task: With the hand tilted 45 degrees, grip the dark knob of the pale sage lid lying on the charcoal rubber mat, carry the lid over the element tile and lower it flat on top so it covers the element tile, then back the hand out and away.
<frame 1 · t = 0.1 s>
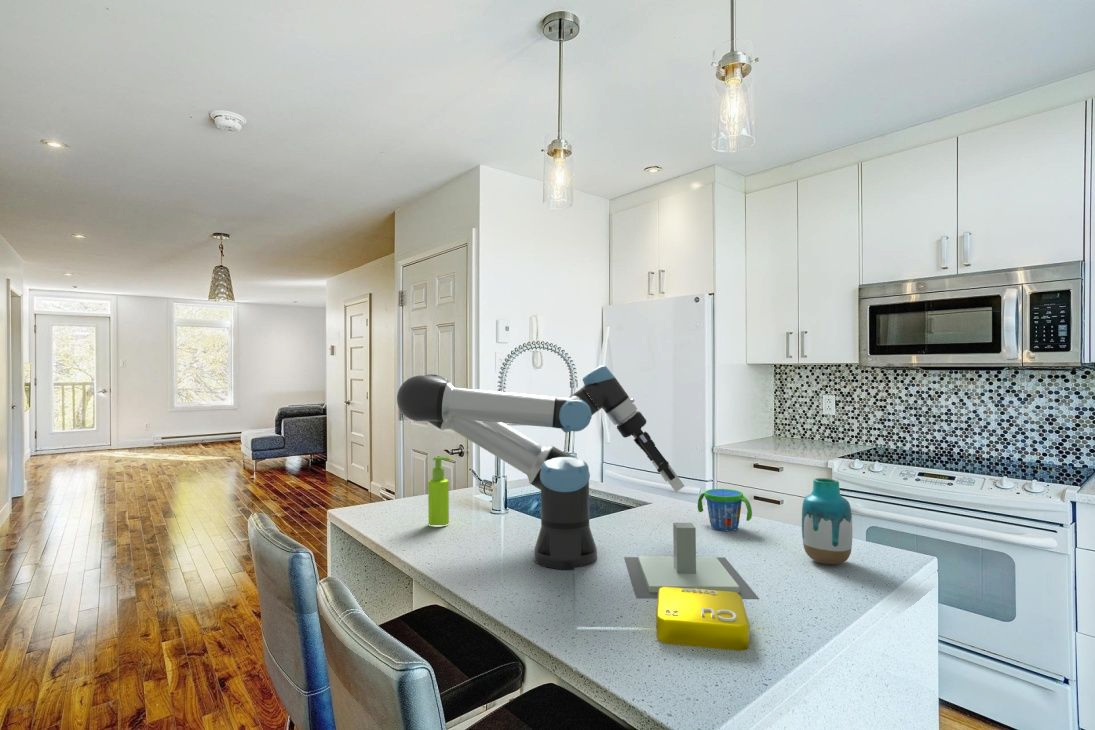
hand: (674, 483, 147), 15 cm above the worktop, tool tilted 35°, fingers open, 13 cm apart
rubber mat: (684, 577, 122), on the worktop
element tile: (700, 630, 99), on the worktop
sage lid: (684, 575, 122), resting on rubber mat
vase: (827, 563, 131), on the worktop
snack cup: (724, 528, 159), on the worktop
soap dispenser: (440, 525, 165), on the worktop
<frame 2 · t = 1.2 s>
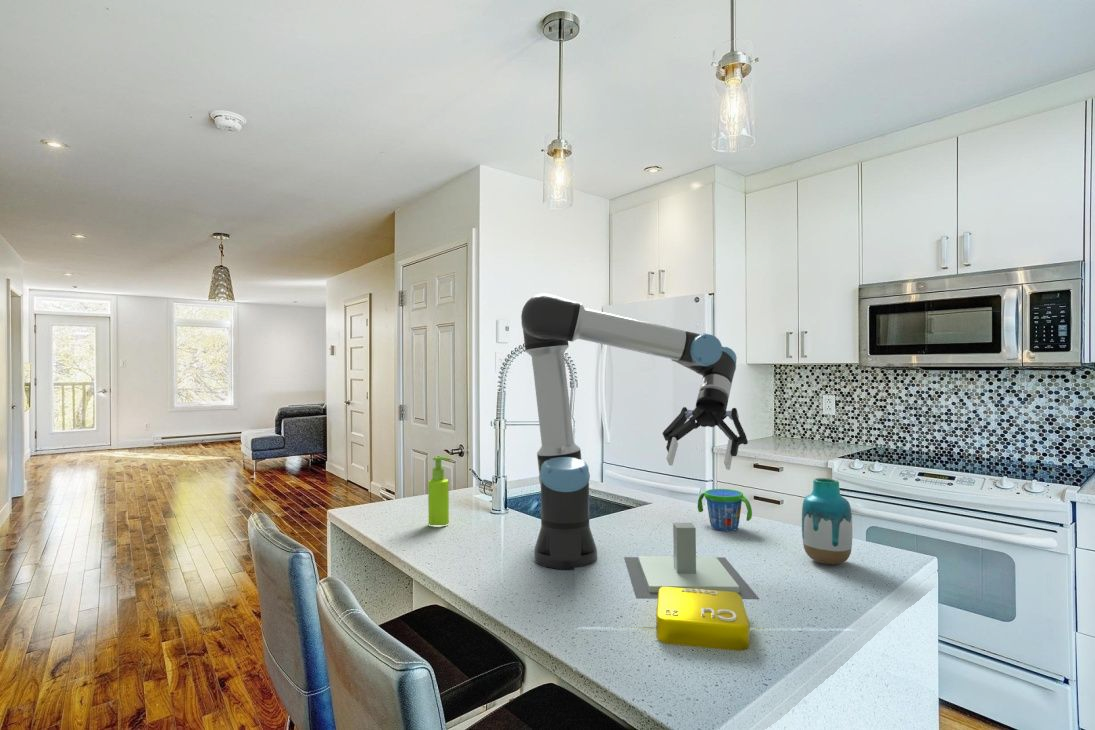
hand: (697, 464, 131), 23 cm above the worktop, tool tilted 45°, fingers open, 13 cm apart
nothing on the worktop moved.
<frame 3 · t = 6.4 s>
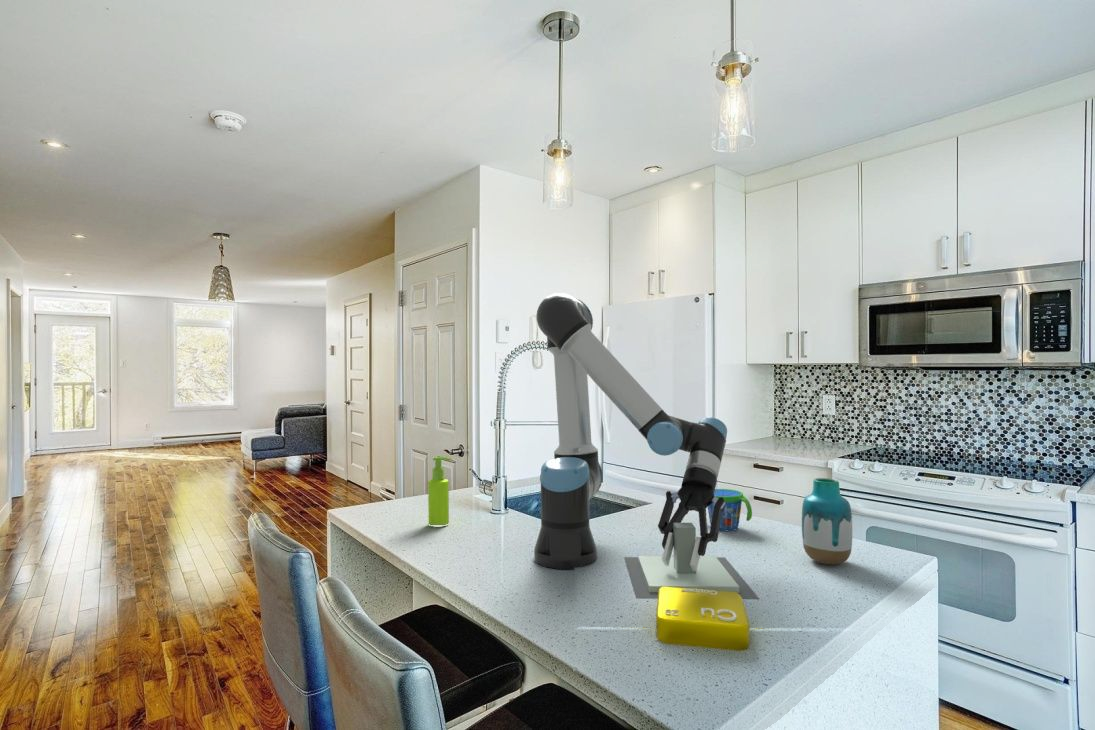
hand: (679, 565, 119), 4 cm above the worktop, tool tilted 45°, fingers closed on sage lid, 5 cm apart
sage lid: (684, 575, 122), resting on rubber mat, touching gripper
everything else where it was.
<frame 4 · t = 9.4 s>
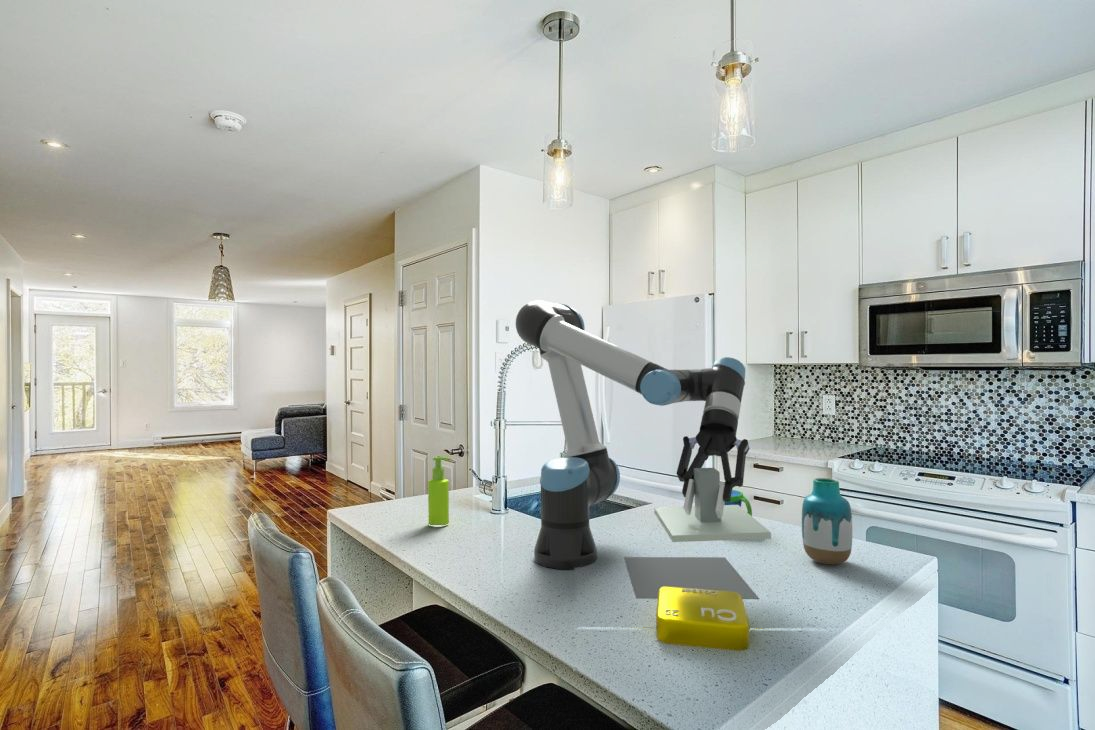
hand: (702, 512, 108), 18 cm above the worktop, tool tilted 40°, fingers closed on sage lid, 5 cm apart
sage lid: (707, 524, 112), point 14 cm above the worktop, touching gripper
everything else where it was.
when the fingers open (10 cm above the worktop, at t = 12.6 s): sage lid drops 2 cm, resting on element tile.
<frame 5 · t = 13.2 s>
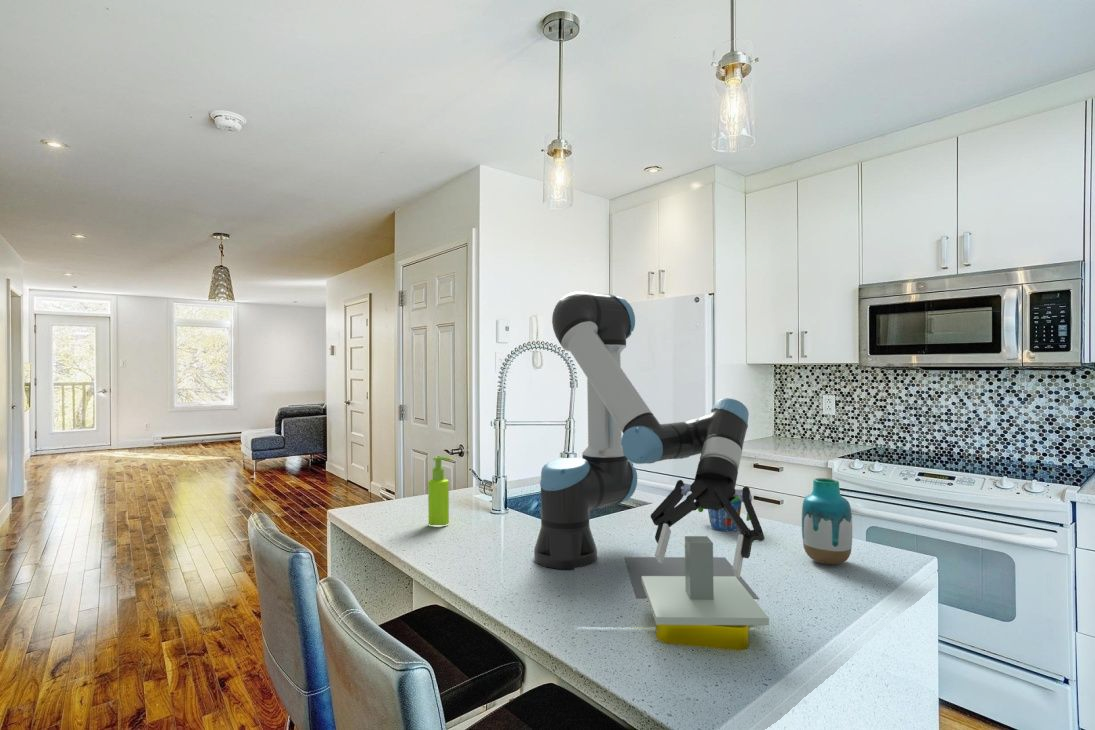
hand: (695, 566, 97), 11 cm above the worktop, tool tilted 45°, fingers open, 13 cm apart
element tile: (700, 630, 99), on the worktop, touching sage lid
sage lid: (699, 601, 99), point 4 cm above the worktop, touching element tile
everything else where it was.
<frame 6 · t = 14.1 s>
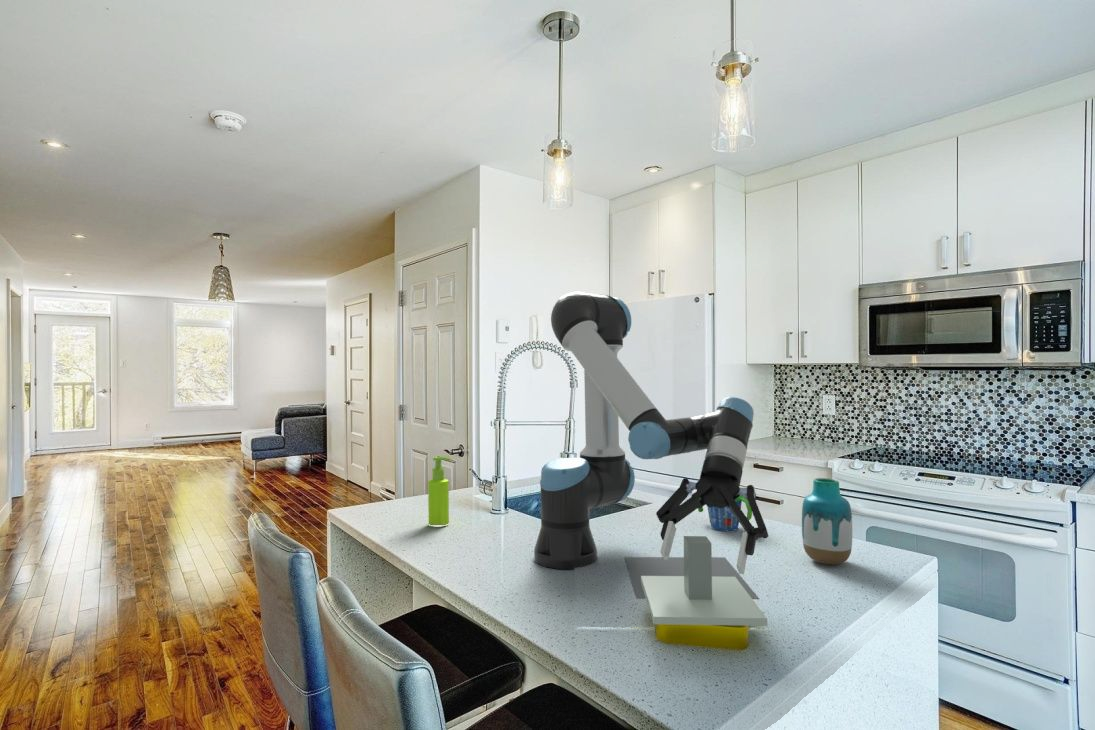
hand: (700, 563, 99), 11 cm above the worktop, tool tilted 45°, fingers open, 13 cm apart
nothing on the worktop moved.
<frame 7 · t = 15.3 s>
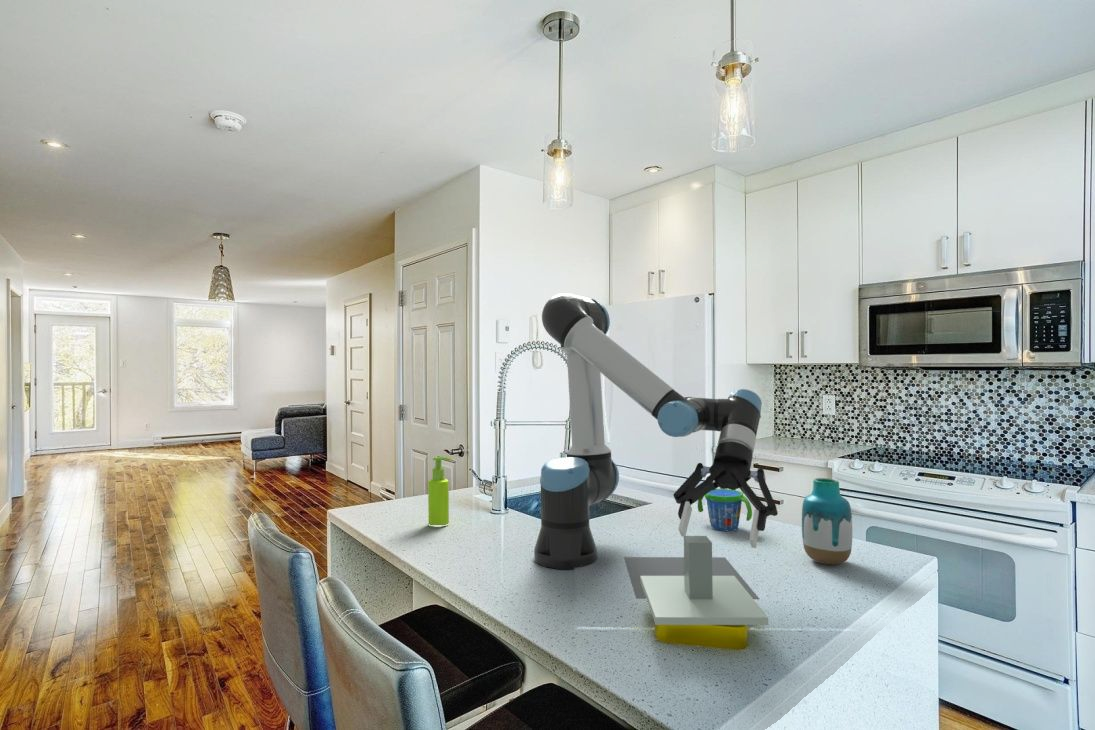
hand: (715, 538, 108), 13 cm above the worktop, tool tilted 45°, fingers open, 13 cm apart
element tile: (699, 629, 99), on the worktop
sage lid: (698, 601, 99), point 4 cm above the worktop
everything else where it was.
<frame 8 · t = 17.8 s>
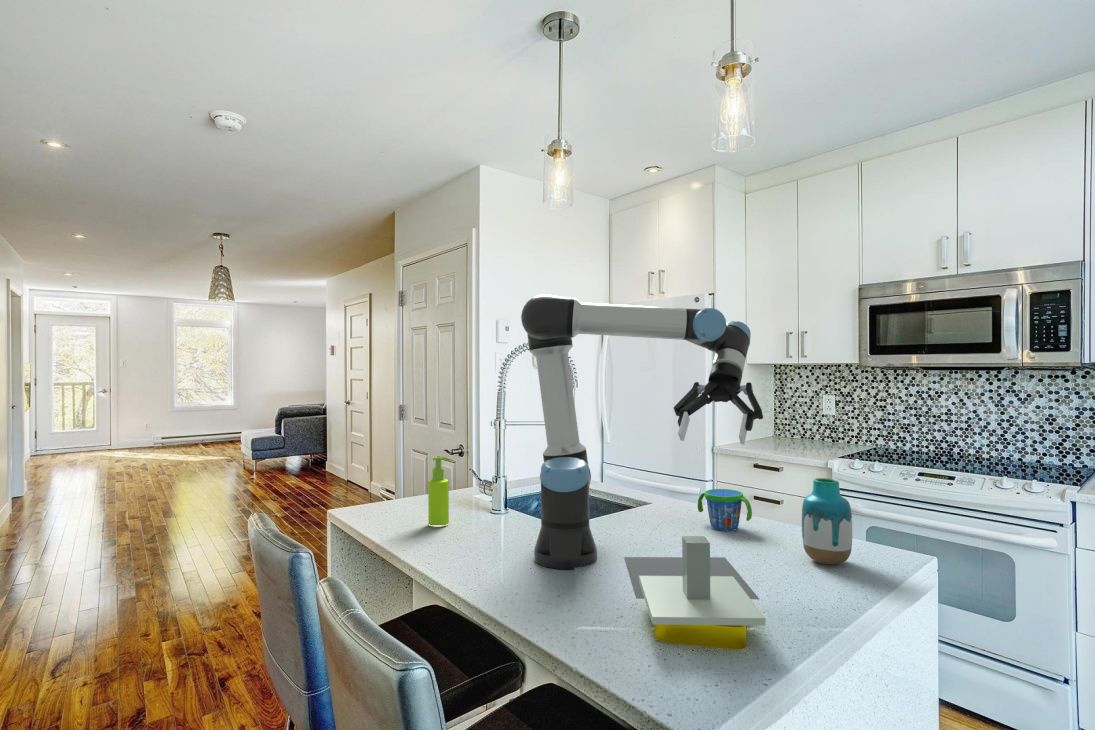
hand: (710, 438, 126), 30 cm above the worktop, tool tilted 45°, fingers open, 13 cm apart
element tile: (698, 629, 99), on the worktop, touching sage lid
sage lid: (696, 601, 99), point 4 cm above the worktop, touching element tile
everything else where it was.
at the end: sage lid 0.4 cm from the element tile (horizontally); sage lid point 4.3 cm above the worktop; sage lid tilted 0° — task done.
